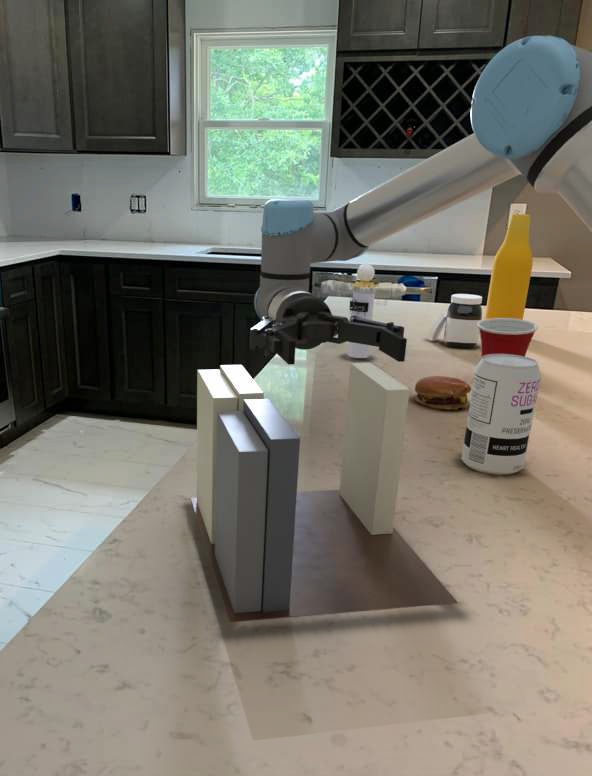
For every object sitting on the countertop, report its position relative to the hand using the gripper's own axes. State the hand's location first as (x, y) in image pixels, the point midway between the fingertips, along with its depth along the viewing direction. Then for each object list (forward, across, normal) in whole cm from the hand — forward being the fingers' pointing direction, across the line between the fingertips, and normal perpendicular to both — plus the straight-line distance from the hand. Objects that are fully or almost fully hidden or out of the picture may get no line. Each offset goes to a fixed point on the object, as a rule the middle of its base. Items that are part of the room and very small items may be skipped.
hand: (348, 351), depth 86 cm
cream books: (+10, +16, -16) cm, 25 cm away
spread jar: (-80, -54, -18) cm, 98 cm away
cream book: (+10, 0, -16) cm, 19 cm away
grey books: (+23, +16, -16) cm, 32 cm away
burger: (-34, -30, -18) cm, 49 cm away
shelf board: (+16, +9, -18) cm, 25 cm away
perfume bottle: (-68, -27, -18) cm, 75 cm away
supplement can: (-5, -24, -18) cm, 30 cm away
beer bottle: (-90, -73, -18) cm, 117 cm away
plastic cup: (-45, -47, -18) cm, 67 cm away
